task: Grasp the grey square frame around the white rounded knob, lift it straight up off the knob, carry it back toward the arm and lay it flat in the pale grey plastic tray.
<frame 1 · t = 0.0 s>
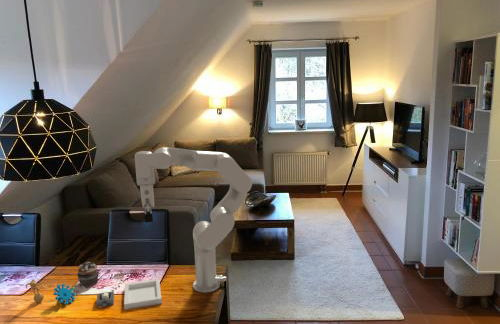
hand: (148, 218, 174), 37 cm above the table, tool pointing down, fingers open, 9 cm apart
cupcake: (89, 283, 194), on the table
grey square frame: (105, 301, 177), on the table
figurine: (38, 303, 177), on the table
tray: (143, 295, 181), on the table
blue virus model: (66, 301, 178), on the table
white rounded knob: (105, 301, 177), on the table
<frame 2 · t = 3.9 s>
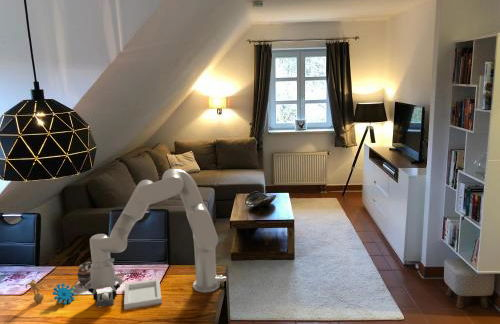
hand: (105, 299, 177), 1 cm above the table, tool pointing down, fingers closed on grey square frame, 6 cm apart
grey square frame: (105, 301, 177), on the table, touching gripper
everything else where it was.
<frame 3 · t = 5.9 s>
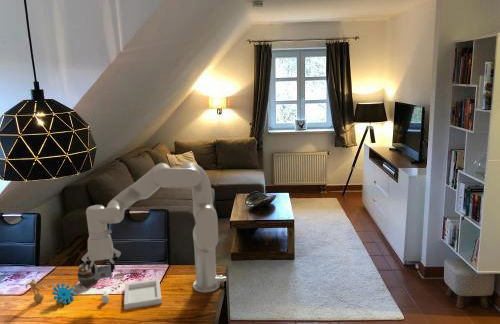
hand: (103, 272, 174), 14 cm above the table, tool pointing down, fingers closed on grey square frame, 6 cm apart
grey square frame: (103, 274, 174), point 13 cm above the table, touching gripper
everything else where it was.
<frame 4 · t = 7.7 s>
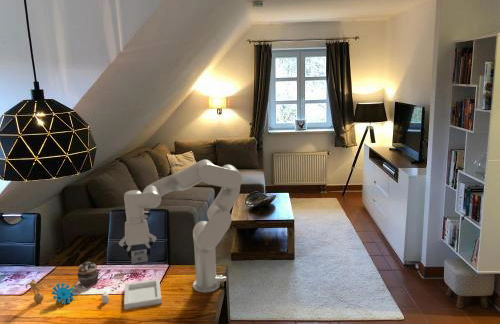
hand: (139, 256, 177), 19 cm above the table, tool pointing down, fingers closed on grey square frame, 6 cm apart
grey square frame: (139, 258, 177), point 18 cm above the table, touching gripper
everything else where it was.
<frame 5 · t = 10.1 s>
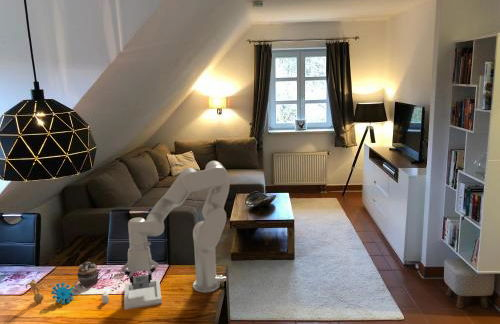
hand: (141, 282, 180), 7 cm above the table, tool pointing down, fingers closed on grey square frame, 6 cm apart
grey square frame: (141, 284, 180), point 6 cm above the table, touching gripper
when the fingers open (3 cm above the table, at t = 11.9 s): grey square frame drops 1 cm, resting on tray.
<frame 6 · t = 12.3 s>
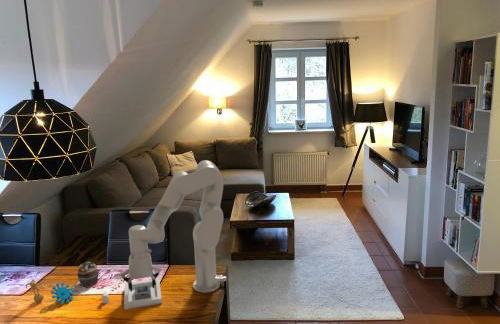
hand: (142, 288, 180), 4 cm above the table, tool pointing down, fingers open, 9 cm apart
grey square frame: (143, 294, 181), point 1 cm above the table, touching tray
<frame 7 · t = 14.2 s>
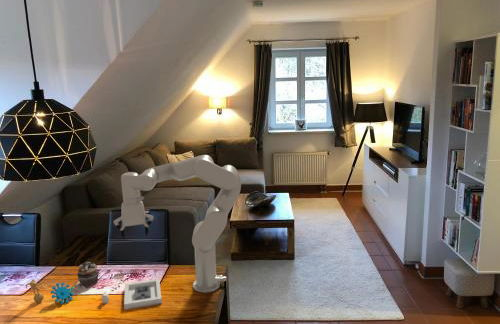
hand: (135, 236, 181), 26 cm above the table, tool pointing down, fingers open, 9 cm apart
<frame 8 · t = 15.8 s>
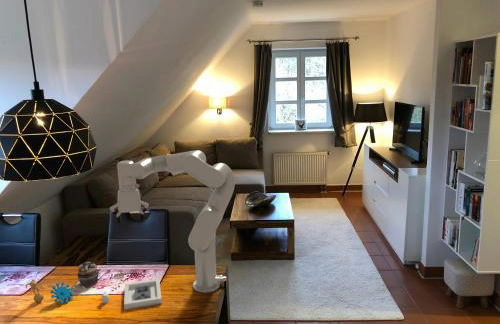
hand: (131, 222, 187), 30 cm above the table, tool pointing down, fingers open, 9 cm apart
at the end: grey square frame inside the target area on the tray (0.0 cm from its centre), point 0.6 cm above the tray's base; grey square frame tilted 0°; the gripper is holding nothing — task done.
